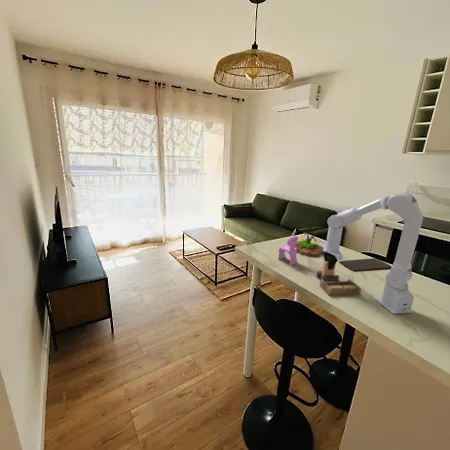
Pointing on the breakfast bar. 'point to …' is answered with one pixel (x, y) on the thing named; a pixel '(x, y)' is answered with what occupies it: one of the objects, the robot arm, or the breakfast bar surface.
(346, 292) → the brown shallow tray
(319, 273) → the stand
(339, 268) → the breakfast bar surface
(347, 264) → the dark rectangular slab
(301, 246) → the plant
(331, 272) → the salmon pink block
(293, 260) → the toy chair
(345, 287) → the offcut
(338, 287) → the offcut
